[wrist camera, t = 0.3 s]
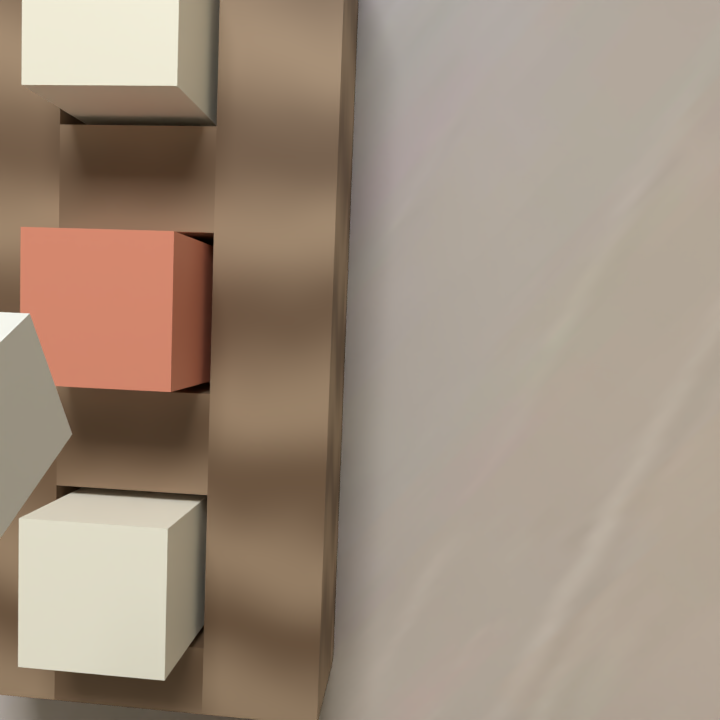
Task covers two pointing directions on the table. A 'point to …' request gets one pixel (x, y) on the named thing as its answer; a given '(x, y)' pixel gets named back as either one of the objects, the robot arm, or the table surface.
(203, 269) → the button middle
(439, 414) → the table surface
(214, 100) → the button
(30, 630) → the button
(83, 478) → the wooden button box
